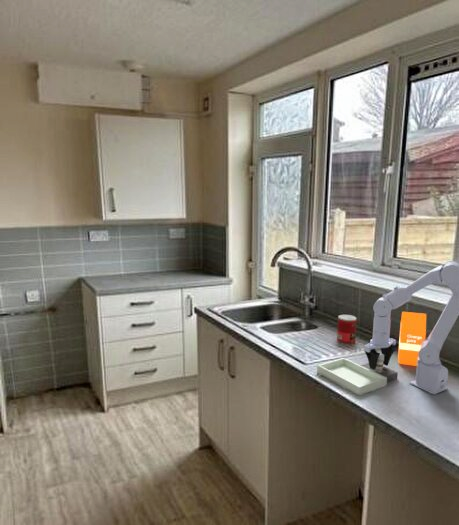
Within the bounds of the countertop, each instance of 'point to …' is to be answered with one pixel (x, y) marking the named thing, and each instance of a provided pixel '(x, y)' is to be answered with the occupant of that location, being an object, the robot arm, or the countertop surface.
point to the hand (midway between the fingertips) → (378, 366)
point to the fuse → (380, 363)
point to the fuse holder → (384, 372)
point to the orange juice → (411, 337)
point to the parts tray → (352, 376)
